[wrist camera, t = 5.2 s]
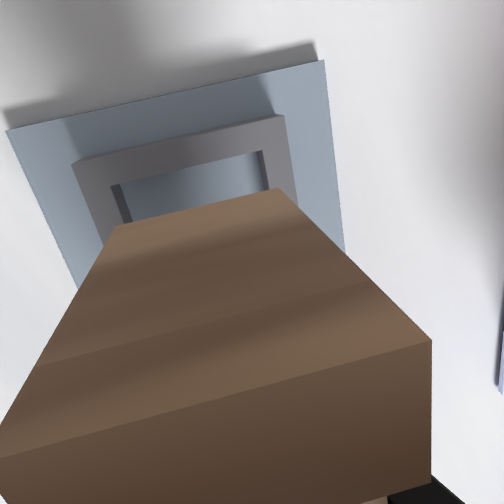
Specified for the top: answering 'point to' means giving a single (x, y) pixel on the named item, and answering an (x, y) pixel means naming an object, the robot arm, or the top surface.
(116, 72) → the top surface
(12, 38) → the top surface
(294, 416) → the tan notched block
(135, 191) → the jig
